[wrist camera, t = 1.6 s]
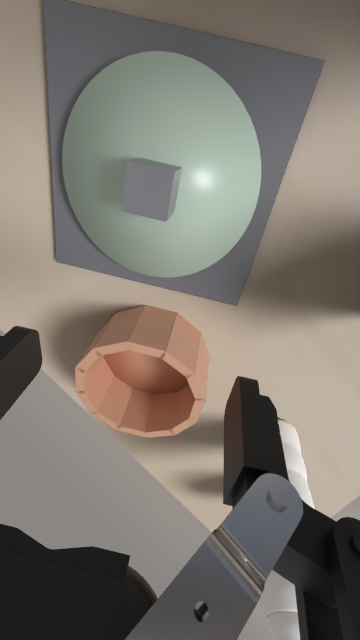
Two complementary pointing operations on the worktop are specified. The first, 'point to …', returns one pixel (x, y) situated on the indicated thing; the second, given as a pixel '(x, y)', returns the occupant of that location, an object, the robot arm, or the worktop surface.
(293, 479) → the water bottle
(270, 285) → the worktop surface
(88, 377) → the bowl
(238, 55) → the mat
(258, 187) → the lid
